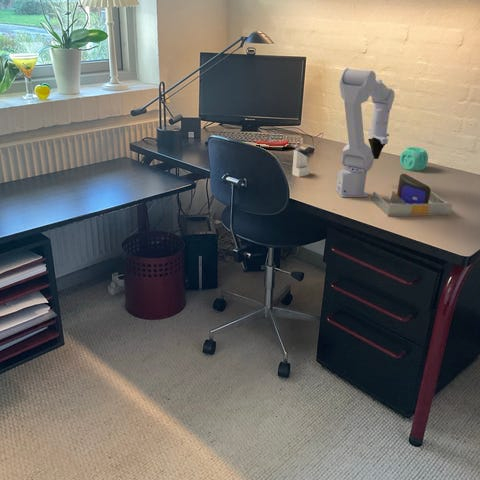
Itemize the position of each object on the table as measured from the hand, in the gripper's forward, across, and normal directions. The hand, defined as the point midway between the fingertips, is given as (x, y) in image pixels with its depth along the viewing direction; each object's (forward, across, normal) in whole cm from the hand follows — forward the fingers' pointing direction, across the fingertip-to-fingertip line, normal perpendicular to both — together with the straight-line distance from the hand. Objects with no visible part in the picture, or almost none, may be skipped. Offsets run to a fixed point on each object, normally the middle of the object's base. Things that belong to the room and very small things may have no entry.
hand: (374, 158), depth 198 cm
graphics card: (+10, +54, +37) cm, 67 cm away
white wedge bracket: (+10, +11, +25) cm, 29 cm away
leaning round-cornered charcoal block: (+10, -25, -5) cm, 27 cm away
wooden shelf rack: (+9, -26, -4) cm, 28 cm away
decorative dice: (+10, +18, -24) cm, 32 cm away
